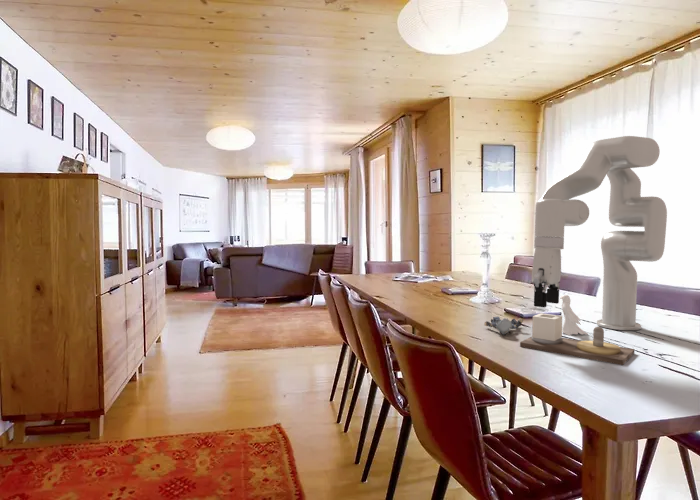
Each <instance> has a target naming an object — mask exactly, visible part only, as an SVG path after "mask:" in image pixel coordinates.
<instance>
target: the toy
mask: <svg viewBox="0 0 700 500" xmlns="http://www.w3.org/2000/svg"><path fill="white" fill-rule="evenodd" d="M523 322H524V320H523V318H520V317H519V318H518V319H517V320H516V318H513V319H511V320H510V319H508V318H502V319H501V318H500V316H493V317H492V318H491V319H490V321H487V320H486V321H484V325H483V326H485V327H490V328H492V327H493V328H494V327H495V329H497V331H499V332H500V333H501V335H507V333H510V334H511V332H510V329H511V330H518V329H519V328H520V327H521V326H522V324H523Z"/></svg>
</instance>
